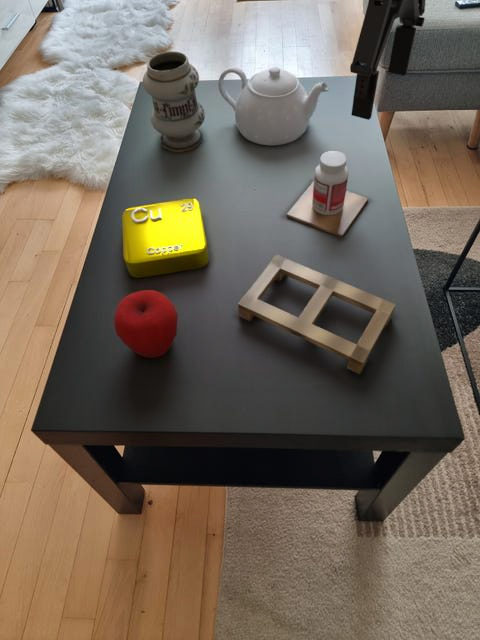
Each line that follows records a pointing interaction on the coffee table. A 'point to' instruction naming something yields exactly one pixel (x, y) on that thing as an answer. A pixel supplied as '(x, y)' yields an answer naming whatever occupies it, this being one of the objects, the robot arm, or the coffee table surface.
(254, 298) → the bottle rack
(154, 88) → the apothecary jar
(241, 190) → the coffee table surface
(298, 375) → the coffee table surface
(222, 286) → the coffee table surface
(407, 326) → the coffee table surface
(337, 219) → the brown flat square
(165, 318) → the apple
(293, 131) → the teapot
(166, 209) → the element tile
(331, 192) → the pill bottle
